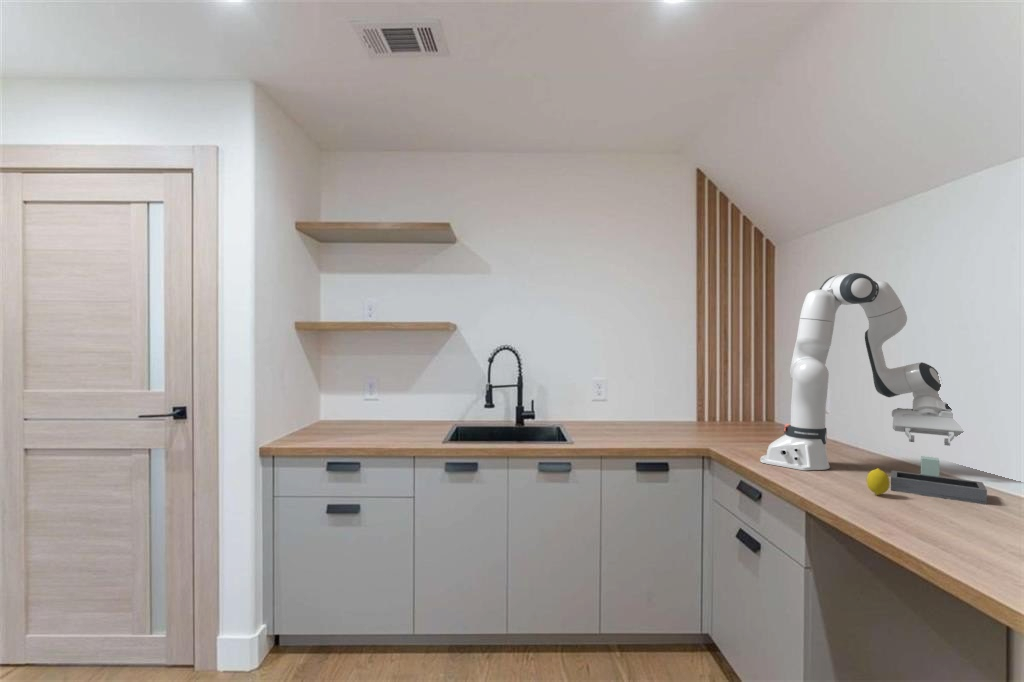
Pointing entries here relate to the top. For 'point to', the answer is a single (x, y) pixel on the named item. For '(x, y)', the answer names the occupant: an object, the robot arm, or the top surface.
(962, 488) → the bottom track
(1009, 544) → the top surface
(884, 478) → the lemon
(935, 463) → the door block
